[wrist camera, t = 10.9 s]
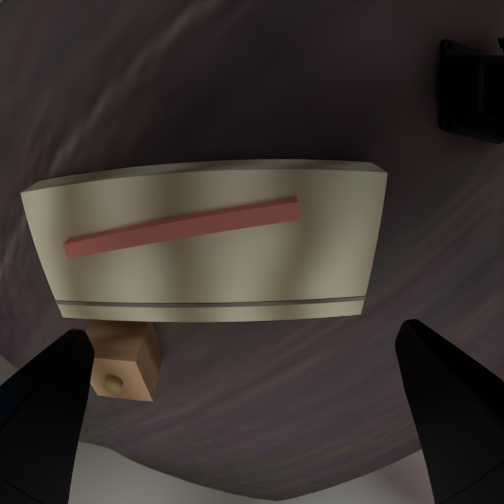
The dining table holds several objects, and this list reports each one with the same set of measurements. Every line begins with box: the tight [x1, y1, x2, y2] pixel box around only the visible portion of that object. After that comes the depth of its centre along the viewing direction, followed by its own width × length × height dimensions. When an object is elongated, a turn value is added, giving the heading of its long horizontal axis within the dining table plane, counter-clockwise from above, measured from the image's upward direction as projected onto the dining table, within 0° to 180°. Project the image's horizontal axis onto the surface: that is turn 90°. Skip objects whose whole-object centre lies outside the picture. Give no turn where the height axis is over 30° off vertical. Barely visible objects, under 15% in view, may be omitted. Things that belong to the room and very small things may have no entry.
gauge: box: [86, 319, 163, 402], centre depth 21 cm, size 5×5×6 cm
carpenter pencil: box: [63, 198, 300, 259], centre depth 16 cm, size 14×1×1 cm, turn 99°
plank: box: [21, 159, 388, 322], centre depth 18 cm, size 22×10×2 cm, turn 91°
